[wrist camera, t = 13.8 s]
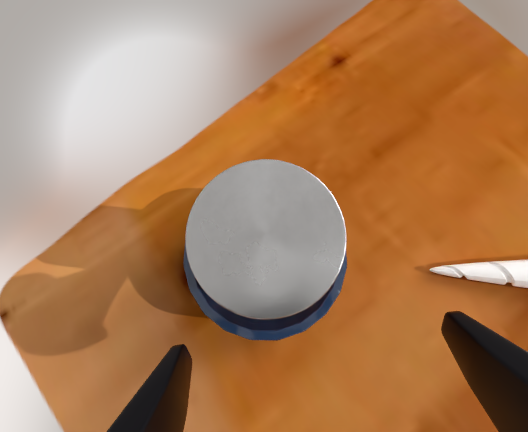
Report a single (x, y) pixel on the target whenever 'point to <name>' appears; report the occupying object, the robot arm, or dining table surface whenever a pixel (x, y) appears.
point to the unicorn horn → (490, 272)
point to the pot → (263, 327)
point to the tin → (265, 239)
